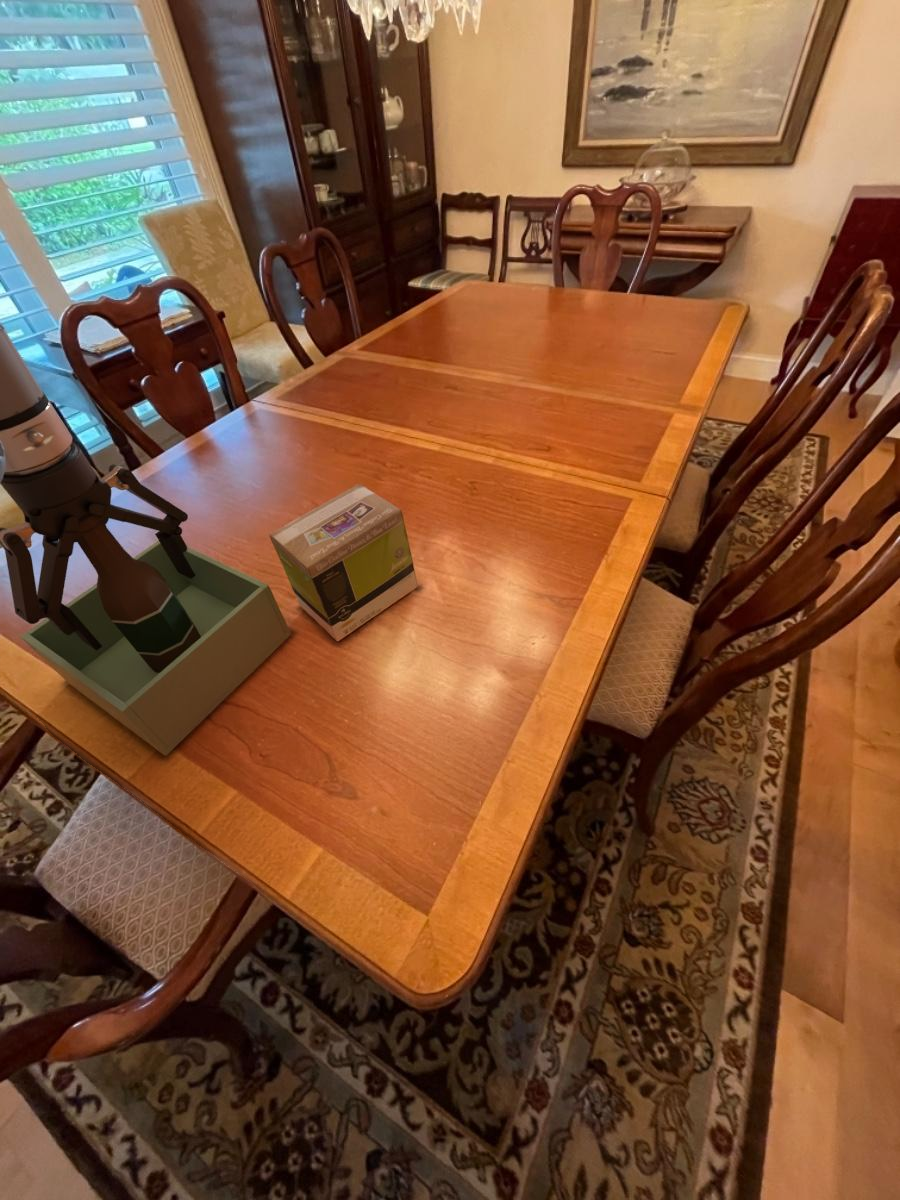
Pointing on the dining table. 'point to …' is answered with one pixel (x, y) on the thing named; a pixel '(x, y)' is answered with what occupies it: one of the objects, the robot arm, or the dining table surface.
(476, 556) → the dining table surface
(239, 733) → the dining table surface
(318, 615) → the tea box
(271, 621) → the open storage bin
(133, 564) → the beer bottle
